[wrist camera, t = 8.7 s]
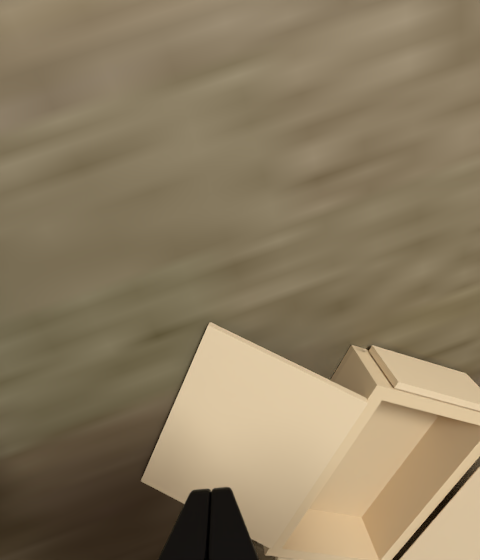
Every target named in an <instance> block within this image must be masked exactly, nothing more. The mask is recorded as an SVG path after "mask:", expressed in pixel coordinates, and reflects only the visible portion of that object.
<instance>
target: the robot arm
mask: <svg viewBox="0 0 480 560" xmlns="http://www.w3.org/2000/svg"><path fill="white" fill-rule="evenodd" d="M158 560H259V558H258V555H257V553H256V550H255V548H254V545H253V542H252V540H251V537H250V535H249V532H248V530H247V527H246V525H245V522H244V519H243V517H242V514H241V512H240V509H239V507H238V504H237V501H236V499H235V496H234V494H233V491H232V489H231V488H230V487H219V488H214V489H212V491H211V490H210V489H196V490H192V491H191V492H190V494H189V496H188V498H187V500H186V502H185V504H184V506H183V508H182V510H181V513H180V515H179V517H178V519H177V521H176V523H175V525H174V527H173V529H172V532H171V534H170V536H169V538H168V540H167V542H166V544H165V546H164V548H163V550H162V553H161V555H160V557H159V559H158Z"/></svg>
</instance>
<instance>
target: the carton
mask: <svg viewBox="0 0 480 560" xmlns="http://www.w3.org/2000/svg"><path fill="white" fill-rule="evenodd" d="M479 456H480V387H479V386H478V385H477V384H476V383H475V382H474V381H473V380H472V379H471V378H470V377H469V376H468V375H467V374H466V373H463V372H460V371H456V370H453V369H450V368H446V367H443V366H440V365H436V364H433V363H430V362H426V361H423V360H420V359H416V358H413V357H410V356H406V355H403V354H400V353H396V352H393V351H390V350H386V349H383V348H380V347H376V346H373V345H372V346H371V348H370V350H367V349H364V348H360V347H357V346H354V345H351V346H350V348H349V350H348V351H347V353H346V355H345V356H344V358H343V360H342V361H341V363H340V365H339V366H338V368H337V370H336V371H335V373H334V375H333V376H332V378H331V380H328V379H326V378H324V377H322V376H320V375H318V374H316V373H314V372H312V371H310V370H308V369H306V368H304V367H302V366H300V365H297V364H295V363H293V362H291V361H289V360H287V359H285V358H283V357H281V356H279V355H277V354H275V353H273V352H271V351H269V350H267V349H265V348H263V347H260V346H258V345H256V344H254V343H252V342H250V341H248V340H246V339H244V338H242V337H240V336H238V335H236V334H234V333H232V332H230V331H228V330H225V329H223V328H221V327H219V326H217V325H215V324H213V323H211V322H210V323H209V325H208V327H207V329H206V331H205V334H204V336H203V338H202V340H201V343H200V345H199V347H198V350H197V352H196V354H195V357H194V359H193V361H192V364H191V366H190V368H189V371H188V373H187V375H186V377H185V380H184V382H183V384H182V387H181V389H180V391H179V394H178V396H177V398H176V401H175V403H174V405H173V408H172V410H171V412H170V414H169V417H168V419H167V421H166V424H165V426H164V428H163V431H162V433H161V435H160V438H159V440H158V442H157V445H156V447H155V449H154V451H153V454H152V456H151V458H150V461H149V463H148V465H147V468H146V470H145V472H144V475H143V477H142V479H141V482H143V483H145V484H147V485H149V486H151V487H153V488H155V489H157V490H159V491H161V492H162V493H164V494H166V495H168V496H170V497H172V498H174V499H176V500H178V501H180V502H182V503H184V504H185V502H186V500H187V498H188V496H189V494H190V492H191V491H192V490H196V489H210V490H211V491H212V489H214V488H219V487H230V488H231V489H232V491H233V494H234V496H235V499H236V501H237V504H238V507H239V509H240V512H241V514H242V517H243V519H244V522H245V525H246V527H247V530H248V532H249V535H250V537H251V539H253V540H255V541H256V542H258V543H260V544H262V545H263V547H264V552H265V555H268V556H275V559H276V560H392V559H393V558H394V556H395V555H396V554H397V553H398V552H399V550H400V549H401V548H402V547H403V546H404V545H405V543H406V542H407V541H408V540H409V539H410V538H411V536H412V535H413V534H414V533H415V532H416V530H417V529H418V528H419V527H420V526H421V525H422V523H423V522H424V521H425V520H426V519H427V518H428V516H429V515H430V514H431V513H432V512H433V510H434V509H435V508H436V507H437V506H438V505H439V503H440V502H441V501H442V500H443V499H444V498H445V496H446V495H447V494H448V493H449V492H450V490H451V489H452V488H453V487H454V486H455V485H456V483H457V482H458V481H459V480H460V479H461V477H462V476H463V475H464V474H465V473H466V472H467V470H468V469H469V468H470V467H471V466H472V465H473V463H474V462H475V461H476V460H477V459H478V457H479Z"/></svg>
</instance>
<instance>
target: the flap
mask: <svg viewBox="0 0 480 560" xmlns="http://www.w3.org/2000/svg"><path fill="white" fill-rule="evenodd" d="M399 560H480V466H479V467H478V468H477V470H476V471H475V472H474V473H473V474H472V475H471V477H470V478H469V479H468V480H467V481H466V482H465V484H464V485H463V486H462V487H461V488H460V489H459V491H458V492H457V493H456V494H455V495H454V496H453V498H452V499H451V500H450V501H449V502H448V503H447V505H446V506H445V507H444V508H443V509H442V510H441V511H440V513H439V514H438V515H437V516H436V517H435V518H434V520H433V521H432V522H431V523H430V524H429V525H428V527H427V528H426V529H425V530H424V531H423V532H422V534H421V535H420V536H419V537H418V538H417V539H416V541H415V542H414V543H413V544H412V545H411V546H410V548H409V549H408V550H407V551H406V552H405V553H404V554H403V556H402V557H401V558H400V559H399Z"/></svg>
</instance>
